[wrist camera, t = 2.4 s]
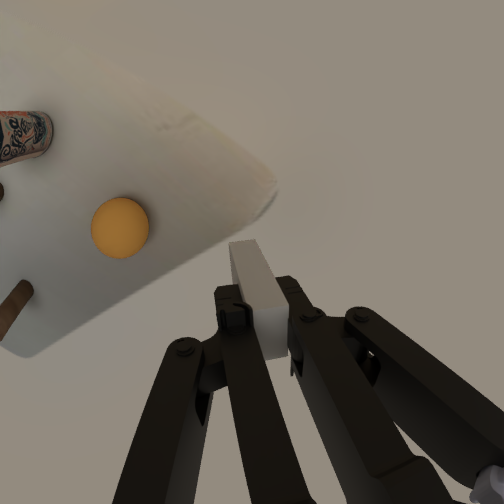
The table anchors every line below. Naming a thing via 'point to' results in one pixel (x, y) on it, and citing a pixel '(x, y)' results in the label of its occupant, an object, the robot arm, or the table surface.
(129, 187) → the table surface
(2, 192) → the post
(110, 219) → the ball
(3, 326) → the post
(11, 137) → the beer can
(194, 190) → the table surface
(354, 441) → the robot arm
